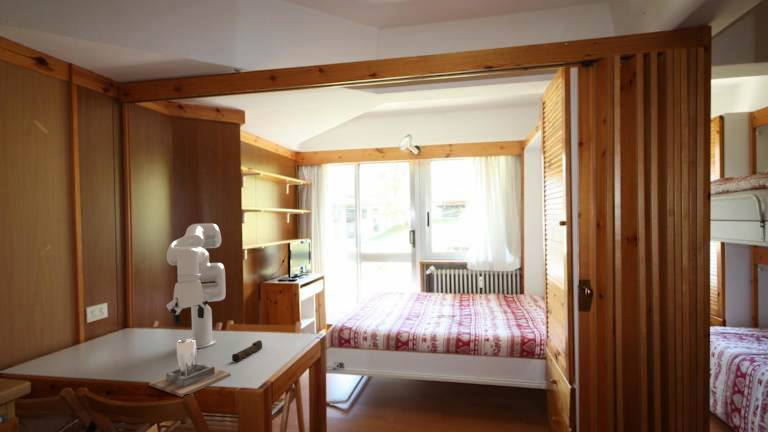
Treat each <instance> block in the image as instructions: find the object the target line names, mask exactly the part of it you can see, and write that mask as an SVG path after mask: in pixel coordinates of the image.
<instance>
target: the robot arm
mask: <svg viewBox="0 0 768 432" xmlns="http://www.w3.org/2000/svg"><path fill="white" fill-rule="evenodd" d="M221 244H222V235H221V231H220V228H219V226H218V225H217V224H215V223H192V224H191V225H189V226H188V227H187V228H186V231H185V234H184V235H183V236H182V237H179V238H177V239H174V241H172V242H171V243H170V244H169V247H168V249H167V251H166V261H167V264H169V265H171V266H176V267H177V282H175V285H174V289H173V299H172V300H171V301H170V302H169V303H167V304H166V308H167V309H168V312H170V313H171V314H172V315H173V323H174V325H177V326H179V325H181V324H182V323H181V322H182V320H181V319H182V318H181V311H182V310H183V309H187V308H190V310H191V311H190V313H191V336H190V337H189V338H195V341H196V349H202V348H207V347H211V346H213V345H214V344H216V342H217V341H216V339H215V338H213V314H212V313H213V311H212V308H211V307H210V305H208V303H210V302H221V301H222V300H225V298H226V291H227V290H226V286H227V285H226V270H225V266H224V264H223V263H222V262H210V254H209V252H208V250H207V249H216V248H219V247H220V246H221ZM204 282H212V283H204ZM213 282H214V283H213Z"/></svg>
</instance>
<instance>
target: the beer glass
mask: <svg viewBox="0 0 768 432" xmlns="http://www.w3.org/2000/svg"><path fill="white" fill-rule="evenodd" d="M176 359H177V364H178V369H180V375H181V376H184V377H187V376H190V375H192V374H195V362H197V361H196V360H197V348H196V341H195V338H190V337H189V338H183V339H180V340H178V341H176Z"/></svg>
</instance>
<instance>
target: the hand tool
mask: <svg viewBox="0 0 768 432" xmlns="http://www.w3.org/2000/svg"><path fill="white" fill-rule="evenodd" d="M261 349H263V342H262V340H261V339H260V340H257V341H254V342H252V344H251V345H250V346H248V347H246V348H244V349H243V350H240V351H238V352H236V353H232V355H231V357H232V359H231V360H232V362H235V363H239V361H242V359H245V358H246V357H248V356H249V355H251V354H253V353H257V352H259V351H260V350H261Z"/></svg>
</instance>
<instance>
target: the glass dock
mask: <svg viewBox="0 0 768 432" xmlns="http://www.w3.org/2000/svg"><path fill="white" fill-rule="evenodd" d="M230 376H231V372H229V371H226V370H221V369H219V368H215V366H212V365H208V364H205V363H201V362H197V361H195V374H192V375H190V376H187V377H184V376H181V375H180V369H179V368H177V369H174V370H171V371H169V372H166V374H165V376H163V377H160V378H158V379H155V380H152V381H150V382H149V386H150V387H152V388H155V389H158V390H161V391H164V392H167V393H170V394H173V395H176V396H178V397H182V398H183V396H184V395H185V394H189V395H191V394H194V393H195V392H197V391H199V390H202V389H204V388H206V387H209V386H211V385H213V384H215V383H218V382H220V381H222V380H224V379H226V378H229V377H230ZM184 397H185V396H184Z"/></svg>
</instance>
